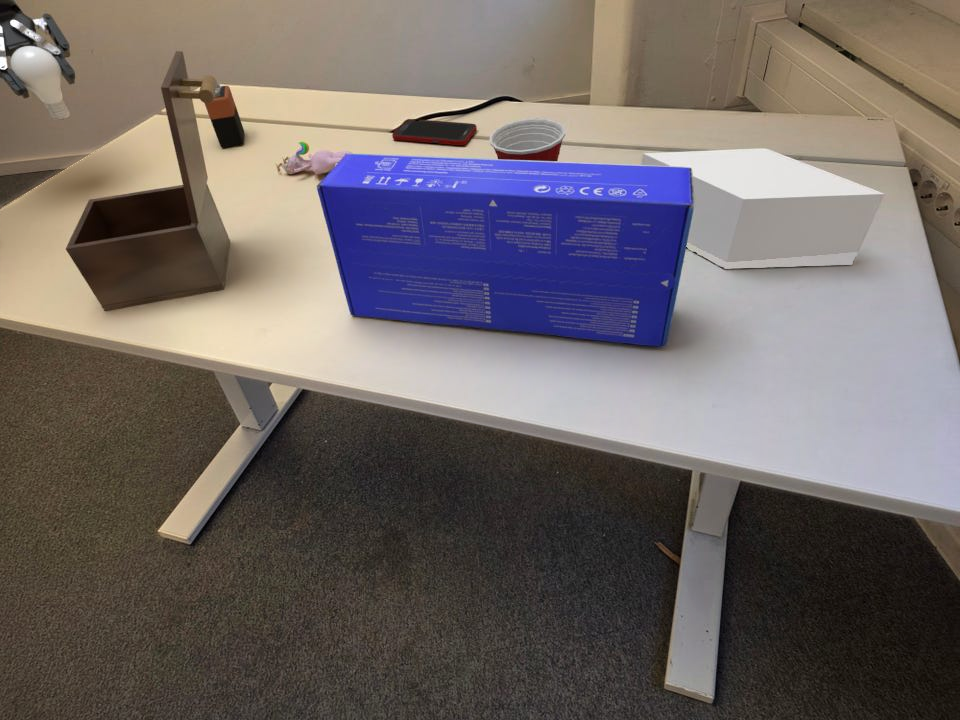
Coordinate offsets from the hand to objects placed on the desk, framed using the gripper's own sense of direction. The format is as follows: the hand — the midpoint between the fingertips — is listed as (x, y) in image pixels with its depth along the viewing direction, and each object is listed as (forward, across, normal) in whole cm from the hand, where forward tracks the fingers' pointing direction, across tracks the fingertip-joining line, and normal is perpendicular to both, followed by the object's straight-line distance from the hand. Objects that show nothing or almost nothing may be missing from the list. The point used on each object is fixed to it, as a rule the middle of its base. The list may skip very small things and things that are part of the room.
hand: (49, 87), depth 94 cm
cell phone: (+37, +48, -13) cm, 62 cm away
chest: (+36, -6, -12) cm, 39 cm away
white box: (+78, +46, -55) cm, 106 cm away
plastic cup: (+58, +37, -34) cm, 77 cm away
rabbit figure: (+32, +26, -8) cm, 42 cm away
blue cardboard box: (+67, +15, -43) cm, 81 cm away
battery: (+14, +25, +10) cm, 31 cm away
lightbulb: (+3, 0, +5) cm, 6 cm away
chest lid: (+27, +1, -29) cm, 39 cm away
